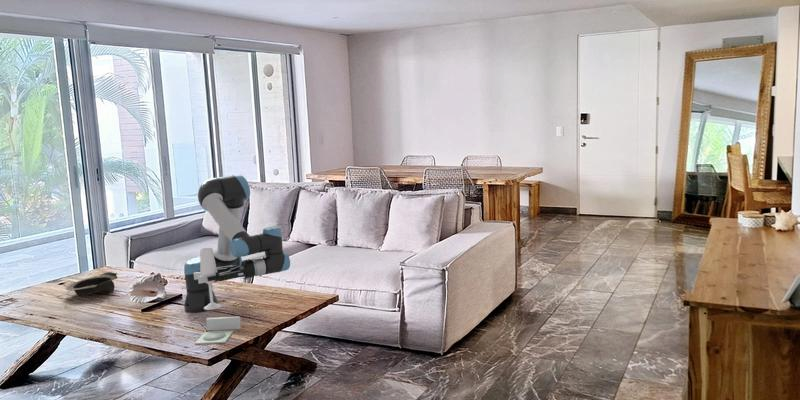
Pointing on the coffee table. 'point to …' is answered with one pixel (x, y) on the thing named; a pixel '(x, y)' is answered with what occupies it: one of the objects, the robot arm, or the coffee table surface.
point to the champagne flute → (208, 272)
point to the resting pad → (214, 337)
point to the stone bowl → (94, 284)
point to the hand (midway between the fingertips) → (196, 278)
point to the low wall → (223, 323)
